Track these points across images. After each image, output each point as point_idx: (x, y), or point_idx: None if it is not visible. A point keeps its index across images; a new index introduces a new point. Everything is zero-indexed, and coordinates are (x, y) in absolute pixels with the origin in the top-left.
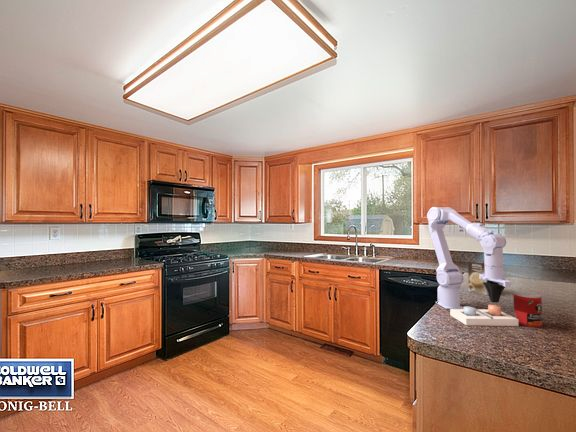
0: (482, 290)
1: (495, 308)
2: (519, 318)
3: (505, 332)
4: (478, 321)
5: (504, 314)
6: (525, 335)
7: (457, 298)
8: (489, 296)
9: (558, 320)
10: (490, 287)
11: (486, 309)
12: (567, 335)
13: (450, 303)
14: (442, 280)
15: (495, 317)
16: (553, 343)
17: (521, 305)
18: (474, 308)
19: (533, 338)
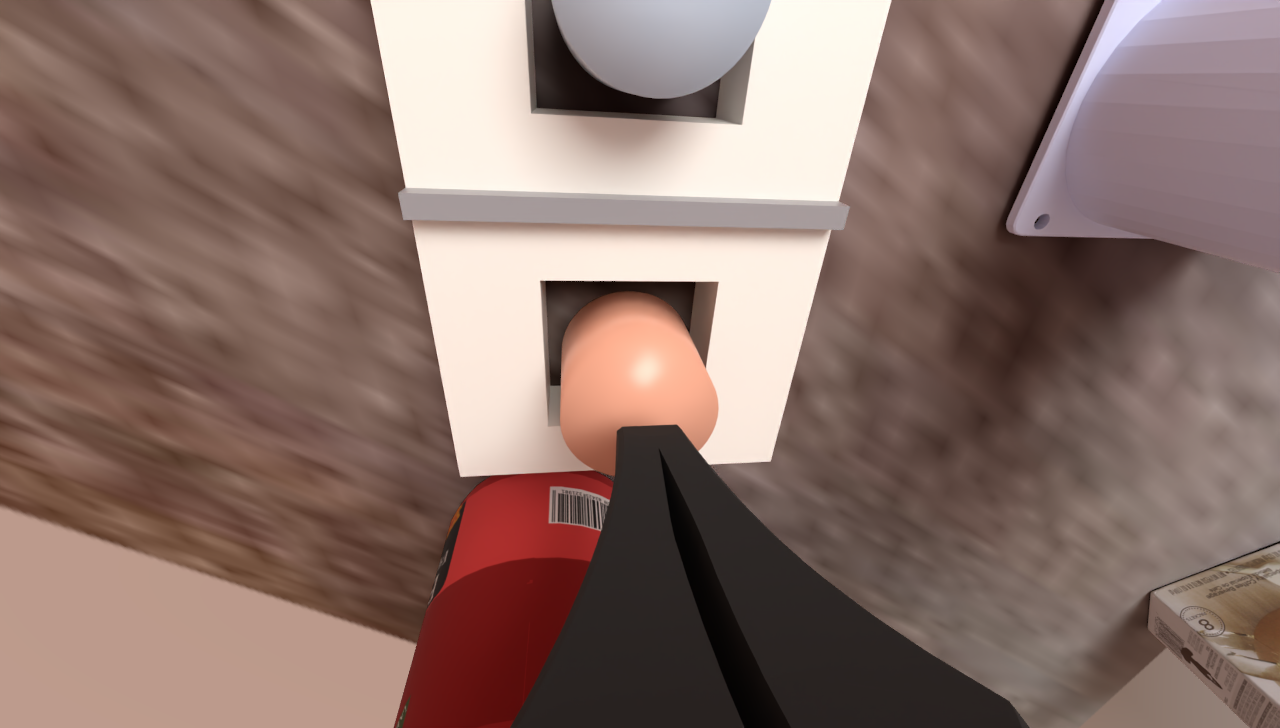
0: (1214, 609)
1: (566, 383)
2: (509, 500)
3: (198, 185)
4: None
5: None
6: (179, 340)
7: (1211, 168)
8: (702, 472)
9: None
10: (588, 713)
11: (794, 369)
12: (322, 599)
13: (1192, 32)
14: None
15: (485, 286)
16: (30, 439)
17: (466, 643)
18: (622, 50)
19: (104, 359)
